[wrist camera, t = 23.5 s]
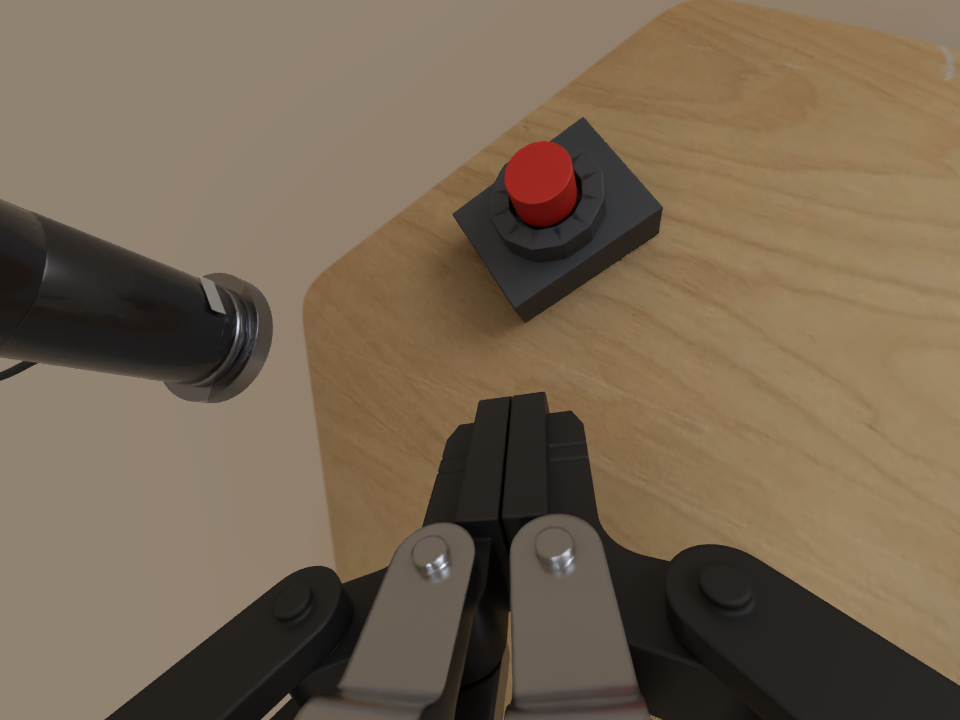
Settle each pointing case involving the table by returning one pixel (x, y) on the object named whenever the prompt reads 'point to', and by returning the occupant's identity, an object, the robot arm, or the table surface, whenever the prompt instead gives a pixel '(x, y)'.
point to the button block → (562, 227)
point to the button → (541, 183)
